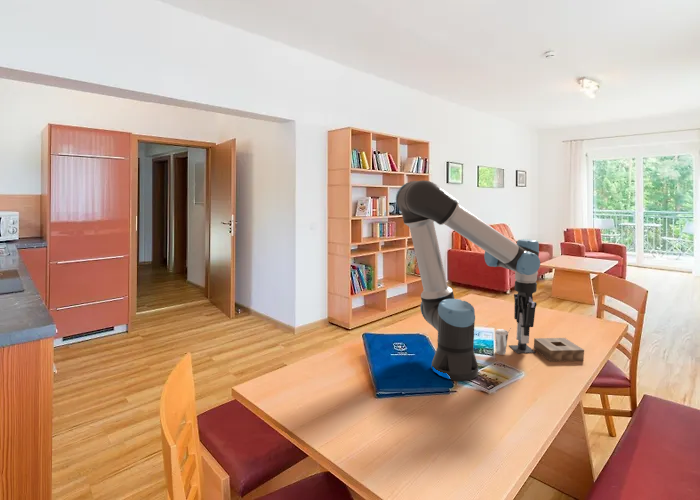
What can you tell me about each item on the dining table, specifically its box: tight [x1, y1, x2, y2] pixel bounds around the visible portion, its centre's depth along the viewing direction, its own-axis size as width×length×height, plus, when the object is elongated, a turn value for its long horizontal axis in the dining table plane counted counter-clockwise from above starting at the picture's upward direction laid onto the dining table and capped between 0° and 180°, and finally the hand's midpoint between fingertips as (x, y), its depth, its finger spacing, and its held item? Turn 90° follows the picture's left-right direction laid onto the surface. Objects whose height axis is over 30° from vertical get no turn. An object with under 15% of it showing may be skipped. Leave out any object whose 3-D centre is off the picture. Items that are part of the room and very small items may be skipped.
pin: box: [517, 312, 528, 350], centre depth 150 cm, size 3×3×14 cm
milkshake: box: [494, 327, 512, 356], centre depth 147 cm, size 4×5×10 cm
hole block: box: [533, 337, 585, 362], centre depth 146 cm, size 12×12×4 cm
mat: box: [508, 344, 537, 354], centre depth 151 cm, size 7×7×1 cm
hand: (522, 341), depth 151 cm, fingers closed on pin, 3 cm apart
